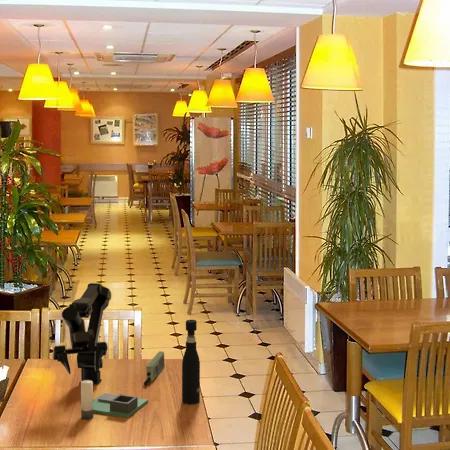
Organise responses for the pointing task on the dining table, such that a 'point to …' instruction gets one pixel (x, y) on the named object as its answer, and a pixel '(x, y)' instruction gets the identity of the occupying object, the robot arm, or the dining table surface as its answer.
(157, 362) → the handheld radio
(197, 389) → the wine bottle
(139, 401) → the board
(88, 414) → the white cylinder
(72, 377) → the dining table surface
